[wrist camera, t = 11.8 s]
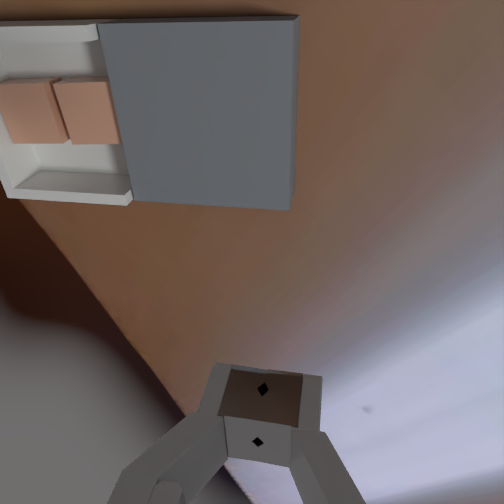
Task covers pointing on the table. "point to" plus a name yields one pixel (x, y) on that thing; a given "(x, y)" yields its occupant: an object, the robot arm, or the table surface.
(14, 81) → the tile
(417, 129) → the table surface
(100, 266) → the table surface
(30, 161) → the bin
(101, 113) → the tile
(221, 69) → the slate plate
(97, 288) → the table surface
